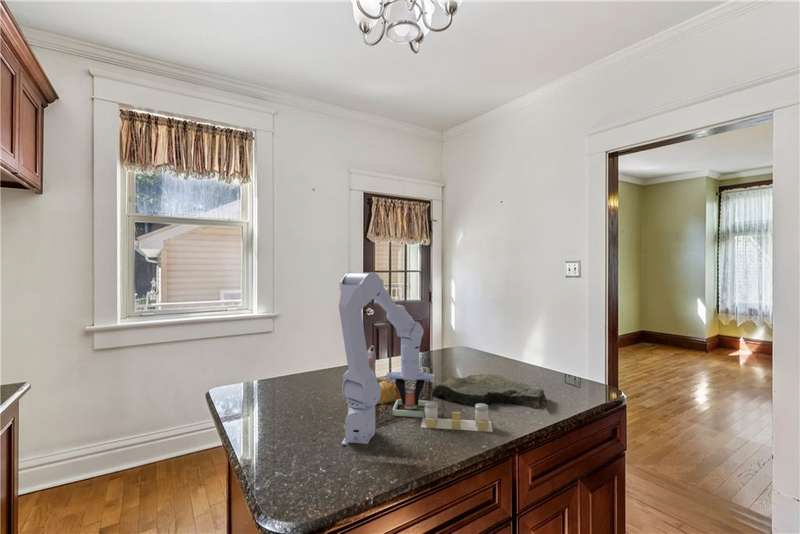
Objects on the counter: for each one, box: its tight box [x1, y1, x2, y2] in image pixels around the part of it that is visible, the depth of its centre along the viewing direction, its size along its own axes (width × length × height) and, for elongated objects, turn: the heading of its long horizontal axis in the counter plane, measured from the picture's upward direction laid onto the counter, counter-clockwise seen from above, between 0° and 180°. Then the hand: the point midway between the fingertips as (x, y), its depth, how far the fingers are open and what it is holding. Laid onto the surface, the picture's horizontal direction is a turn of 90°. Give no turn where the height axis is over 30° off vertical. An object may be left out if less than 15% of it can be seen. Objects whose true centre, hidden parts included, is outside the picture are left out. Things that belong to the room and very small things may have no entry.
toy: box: [367, 345, 377, 373], centre depth 147 cm, size 6×19×15 cm, turn 16°
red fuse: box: [404, 386, 417, 410], centre depth 116 cm, size 4×4×6 cm
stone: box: [430, 373, 547, 410], centre depth 128 cm, size 35×6×29 cm
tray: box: [391, 399, 428, 418], centre depth 116 cm, size 9×10×2 cm
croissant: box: [377, 380, 407, 405], centre depth 127 cm, size 21×10×8 cm, turn 113°
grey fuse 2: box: [474, 403, 489, 428], centre depth 105 cm, size 4×4×6 cm
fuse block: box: [420, 411, 494, 433], centre depth 106 cm, size 6×20×3 cm, turn 81°
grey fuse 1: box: [424, 400, 439, 425], centre depth 107 cm, size 4×4×6 cm
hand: (410, 403), depth 116 cm, fingers closed on red fuse, 3 cm apart
